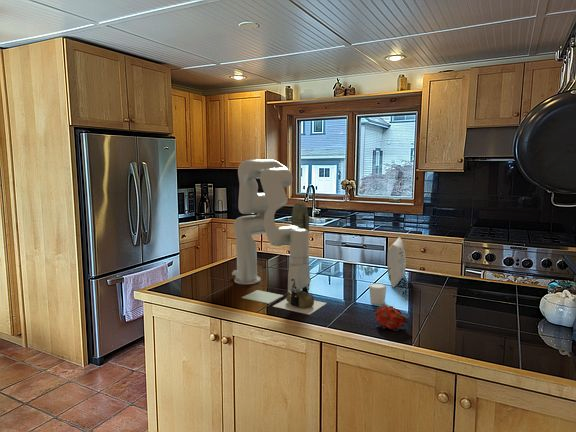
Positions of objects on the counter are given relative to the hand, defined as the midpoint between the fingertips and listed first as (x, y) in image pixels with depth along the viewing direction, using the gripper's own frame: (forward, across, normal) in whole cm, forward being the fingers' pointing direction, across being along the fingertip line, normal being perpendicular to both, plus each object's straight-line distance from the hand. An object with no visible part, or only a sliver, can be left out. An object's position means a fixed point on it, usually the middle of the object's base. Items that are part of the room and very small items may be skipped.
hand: (299, 302), depth 167 cm
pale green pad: (+1, 0, -18) cm, 19 cm away
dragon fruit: (+1, +3, +38) cm, 39 cm away
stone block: (+1, 0, 0) cm, 1 cm away
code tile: (+1, 0, 0) cm, 1 cm away
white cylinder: (+1, -19, +26) cm, 32 cm away
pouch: (+1, -49, +24) cm, 54 cm away
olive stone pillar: (+1, -45, -26) cm, 52 cm away
